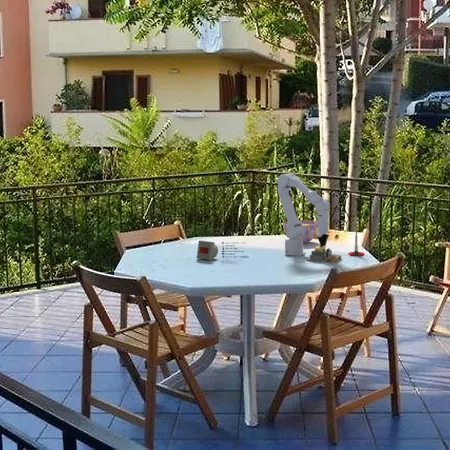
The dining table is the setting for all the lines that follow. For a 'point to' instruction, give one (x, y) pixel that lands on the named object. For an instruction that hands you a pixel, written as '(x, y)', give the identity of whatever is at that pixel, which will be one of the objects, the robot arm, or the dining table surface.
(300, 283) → the dining table surface
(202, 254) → the voltmeter
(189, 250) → the dining table surface
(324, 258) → the grey stepped metal block
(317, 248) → the link bar
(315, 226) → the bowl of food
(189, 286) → the dining table surface
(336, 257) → the block
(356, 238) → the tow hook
